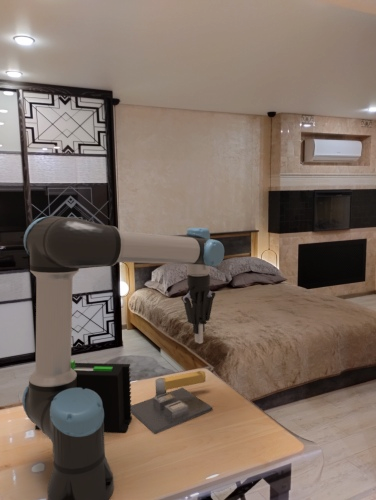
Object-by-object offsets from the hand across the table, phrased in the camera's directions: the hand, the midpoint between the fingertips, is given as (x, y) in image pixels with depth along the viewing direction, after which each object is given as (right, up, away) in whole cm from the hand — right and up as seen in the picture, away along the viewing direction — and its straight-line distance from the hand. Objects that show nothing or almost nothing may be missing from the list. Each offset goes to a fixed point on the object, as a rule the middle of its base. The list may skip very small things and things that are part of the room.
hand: (198, 342), depth 137 cm
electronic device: (-36, -22, -12) cm, 44 cm away
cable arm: (-6, -18, +3) cm, 19 cm away
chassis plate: (-10, -21, -6) cm, 24 cm away
